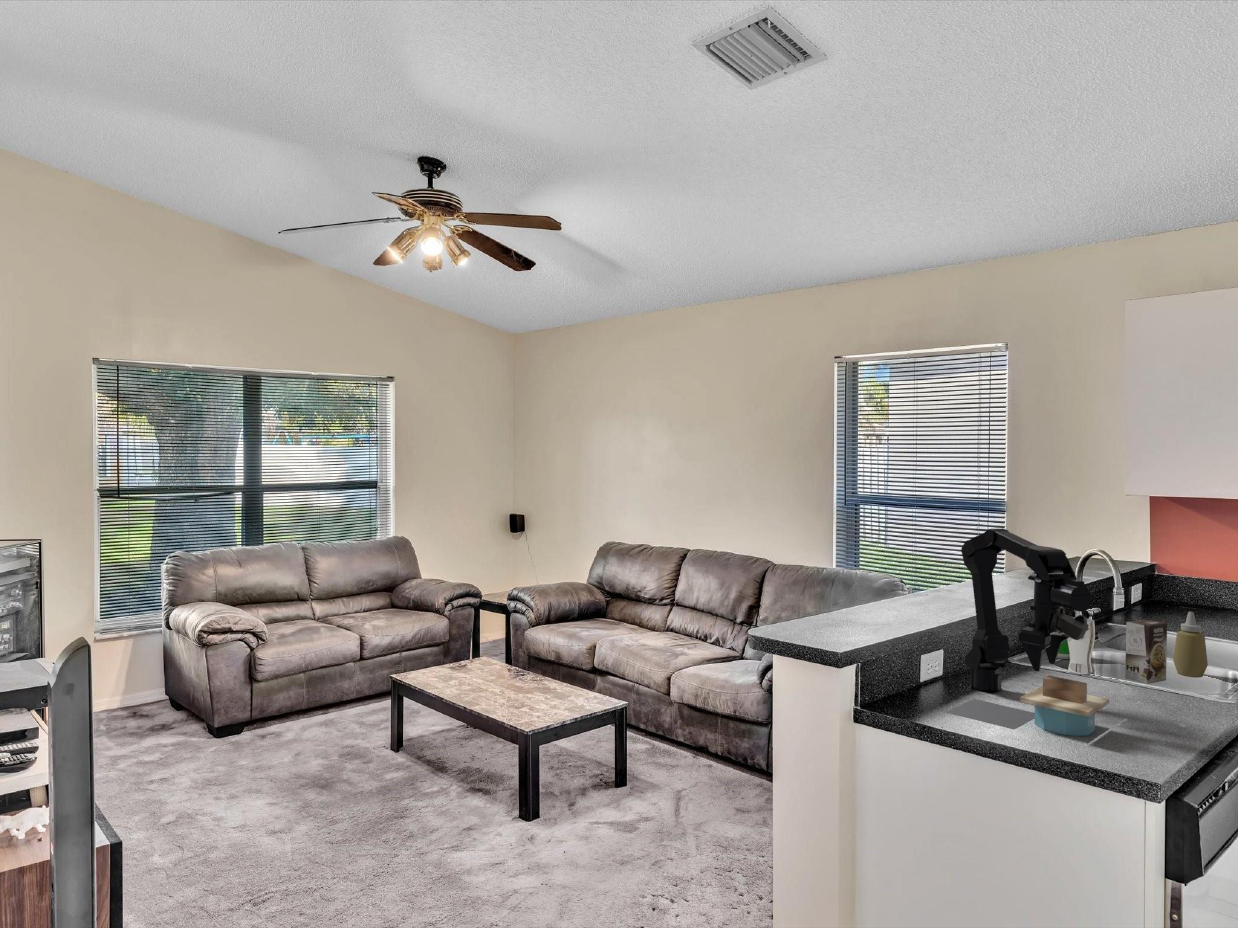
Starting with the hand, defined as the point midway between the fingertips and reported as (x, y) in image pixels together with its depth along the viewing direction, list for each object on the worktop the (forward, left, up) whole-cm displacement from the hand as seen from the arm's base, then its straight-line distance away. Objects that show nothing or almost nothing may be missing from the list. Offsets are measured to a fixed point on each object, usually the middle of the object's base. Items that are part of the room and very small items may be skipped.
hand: (1044, 667), depth 192 cm
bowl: (+7, -6, -12) cm, 15 cm away
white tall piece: (-8, +51, -12) cm, 53 cm away
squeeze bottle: (+14, +71, -12) cm, 73 cm away
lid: (+7, -6, -6) cm, 11 cm away
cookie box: (+7, +56, -12) cm, 57 cm away
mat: (-8, -8, -12) cm, 17 cm away
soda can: (-18, +66, -12) cm, 69 cm away
